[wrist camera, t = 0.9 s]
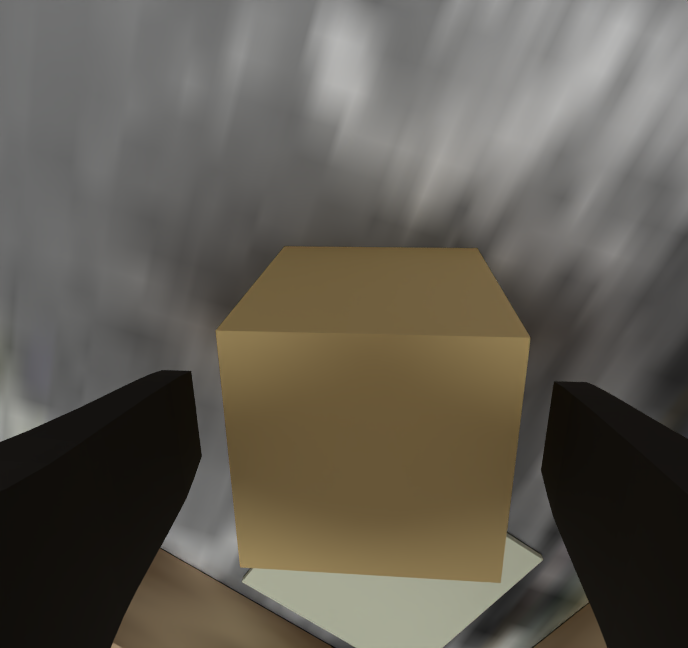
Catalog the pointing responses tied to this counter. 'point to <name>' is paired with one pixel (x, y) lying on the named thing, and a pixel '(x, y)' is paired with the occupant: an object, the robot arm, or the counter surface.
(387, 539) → the block
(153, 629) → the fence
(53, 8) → the counter surface
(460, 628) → the pad
